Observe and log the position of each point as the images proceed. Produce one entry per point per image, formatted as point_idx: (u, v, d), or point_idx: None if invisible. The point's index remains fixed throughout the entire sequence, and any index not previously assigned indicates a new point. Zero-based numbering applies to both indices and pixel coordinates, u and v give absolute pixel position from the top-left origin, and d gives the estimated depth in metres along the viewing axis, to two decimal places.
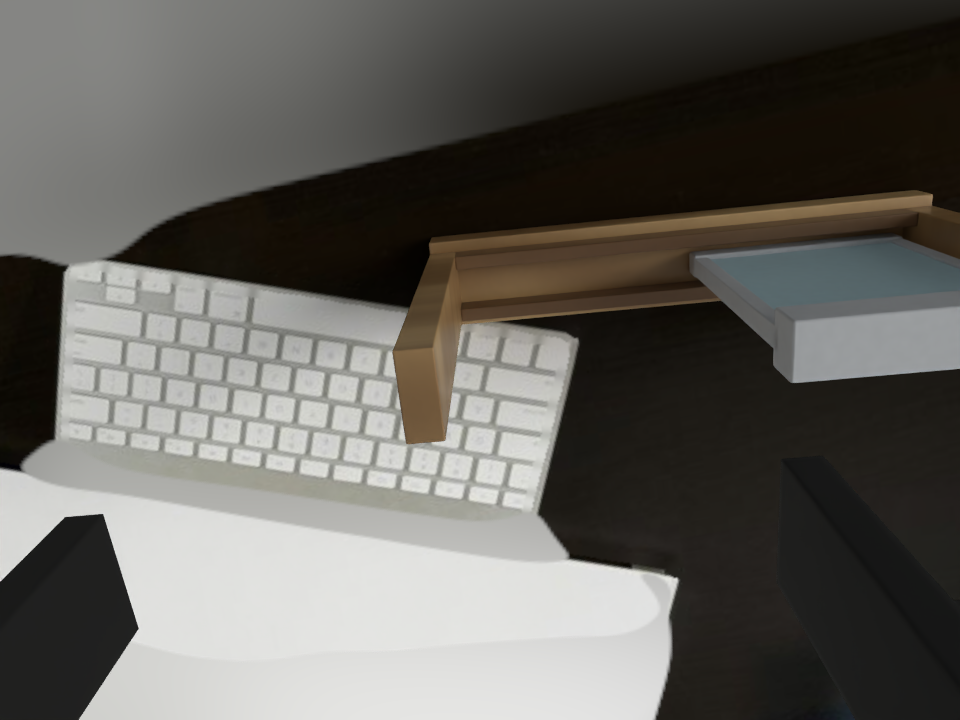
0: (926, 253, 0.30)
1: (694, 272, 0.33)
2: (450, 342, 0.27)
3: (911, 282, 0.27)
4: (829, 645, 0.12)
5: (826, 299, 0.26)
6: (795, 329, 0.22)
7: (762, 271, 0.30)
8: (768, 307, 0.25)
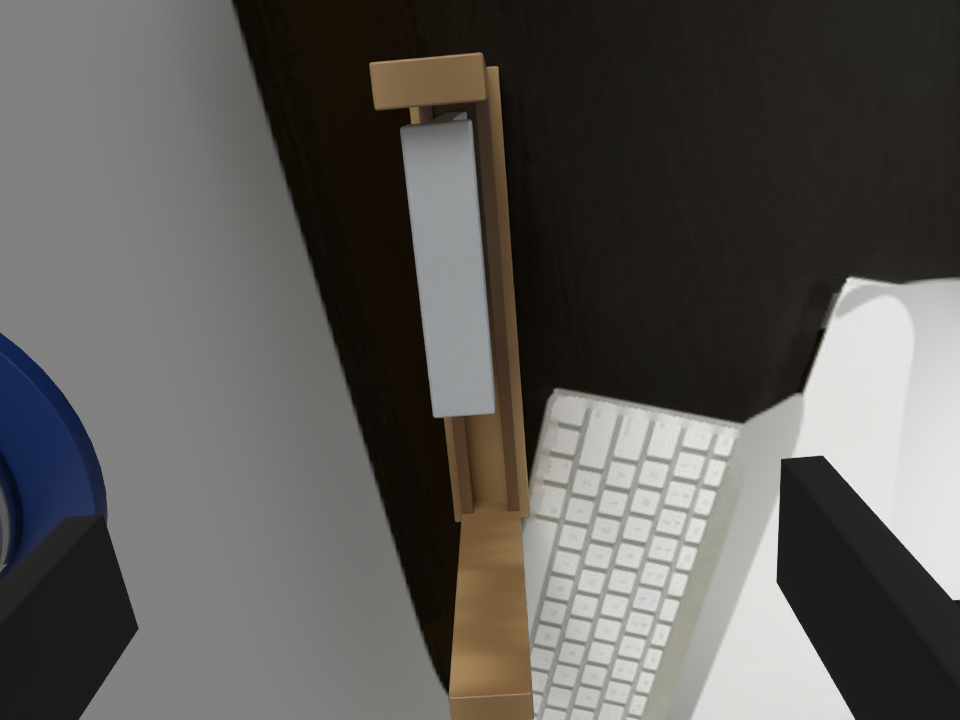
0: None
1: None
2: (494, 598, 0.32)
3: None
4: (829, 645, 0.12)
5: None
6: (440, 416, 0.24)
7: None
8: None
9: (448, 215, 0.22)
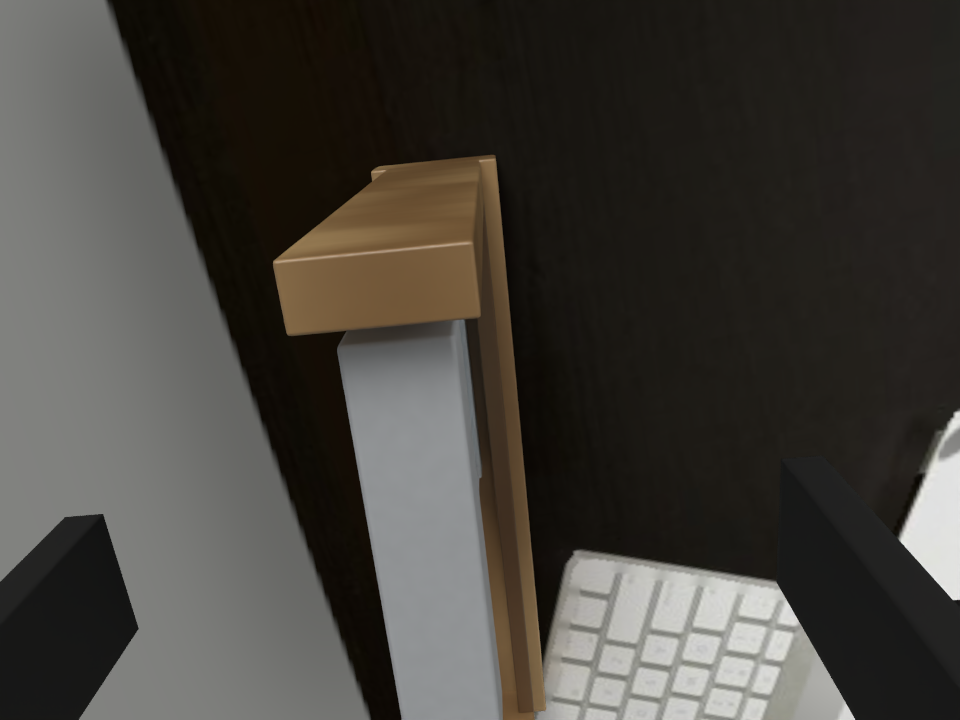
0: None
1: None
2: None
3: None
4: (829, 645, 0.12)
5: None
6: None
7: None
8: None
9: (422, 478, 0.13)
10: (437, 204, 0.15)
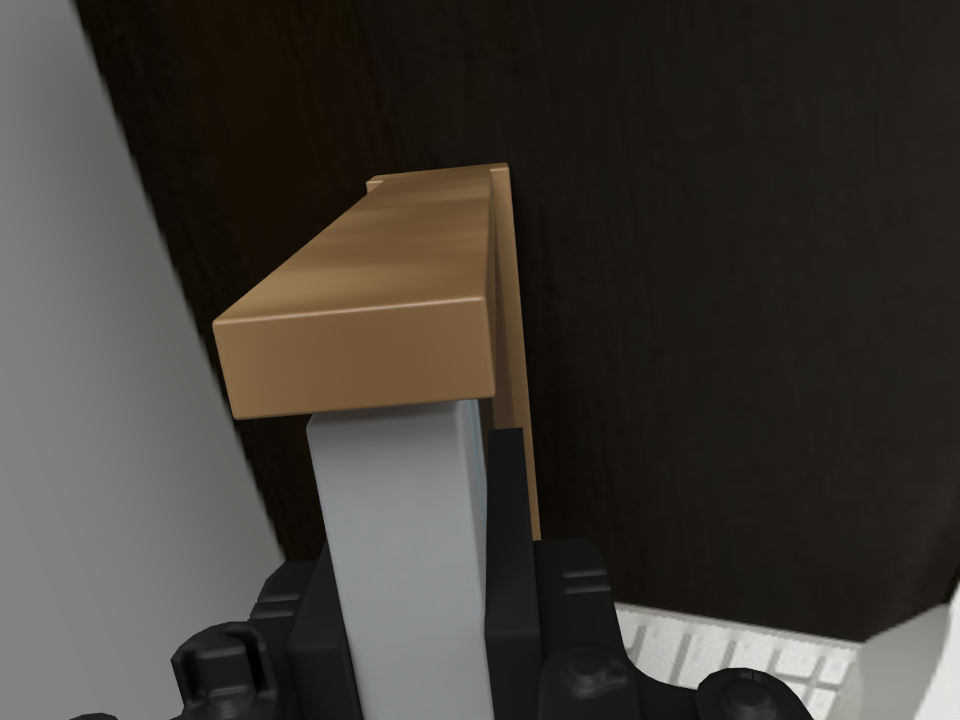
0: None
1: None
2: None
3: None
4: None
5: None
6: None
7: None
8: None
9: (417, 589, 0.10)
10: (439, 231, 0.12)
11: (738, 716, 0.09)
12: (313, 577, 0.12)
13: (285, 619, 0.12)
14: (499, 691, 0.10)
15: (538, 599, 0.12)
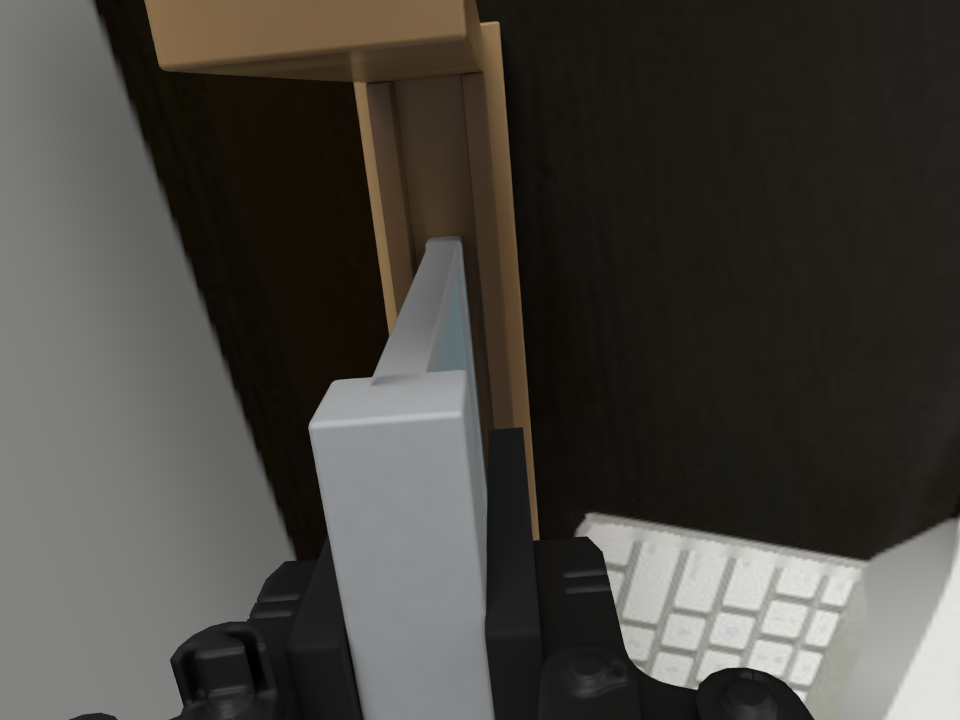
0: None
1: None
2: None
3: None
4: None
5: None
6: None
7: None
8: None
9: (418, 589, 0.10)
10: None
11: (738, 716, 0.09)
12: (313, 577, 0.12)
13: (285, 619, 0.12)
14: (500, 691, 0.10)
15: (539, 599, 0.12)
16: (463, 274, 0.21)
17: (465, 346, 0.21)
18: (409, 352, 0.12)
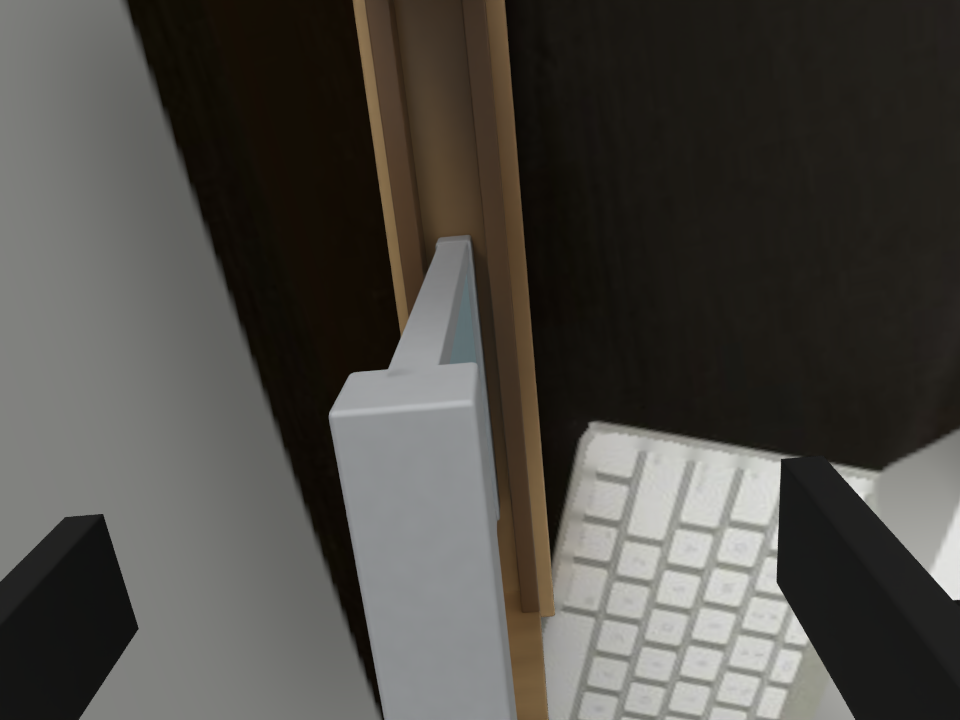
0: None
1: None
2: None
3: None
4: (829, 644, 0.12)
5: None
6: None
7: None
8: None
9: (433, 570, 0.11)
10: None
11: None
12: None
13: None
14: None
15: None
16: (472, 273, 0.21)
17: (475, 343, 0.22)
18: (422, 346, 0.12)
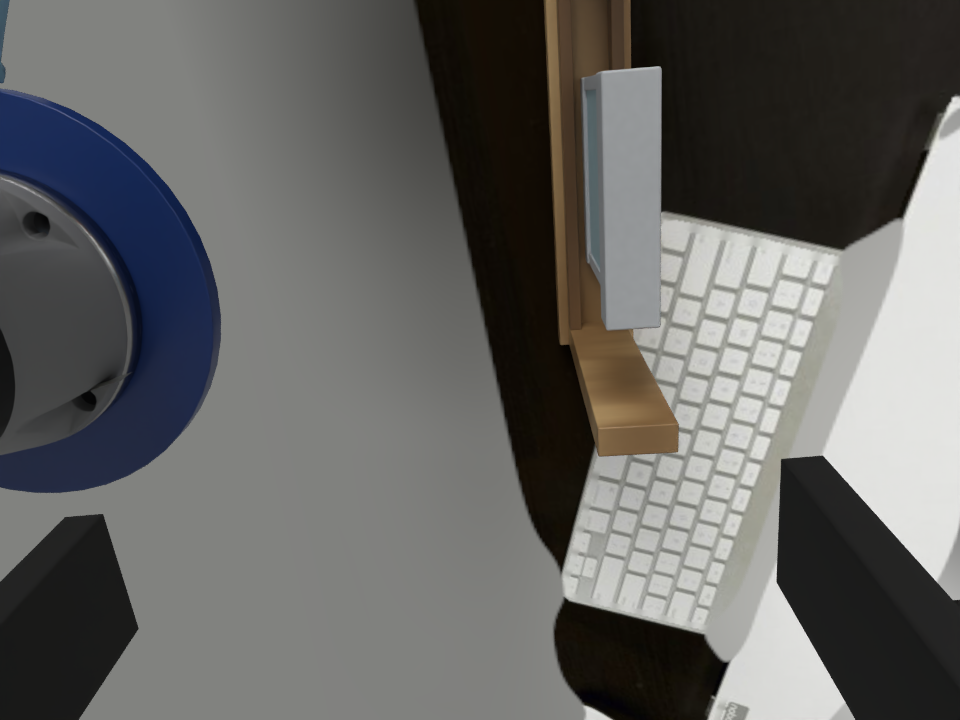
0: (591, 89, 0.33)
1: None
2: (621, 374, 0.33)
3: None
4: (829, 645, 0.12)
5: None
6: (613, 329, 0.28)
7: (596, 235, 0.35)
8: None
9: (635, 149, 0.25)
10: None
11: None
12: None
13: None
14: None
15: None
16: None
17: None
18: None
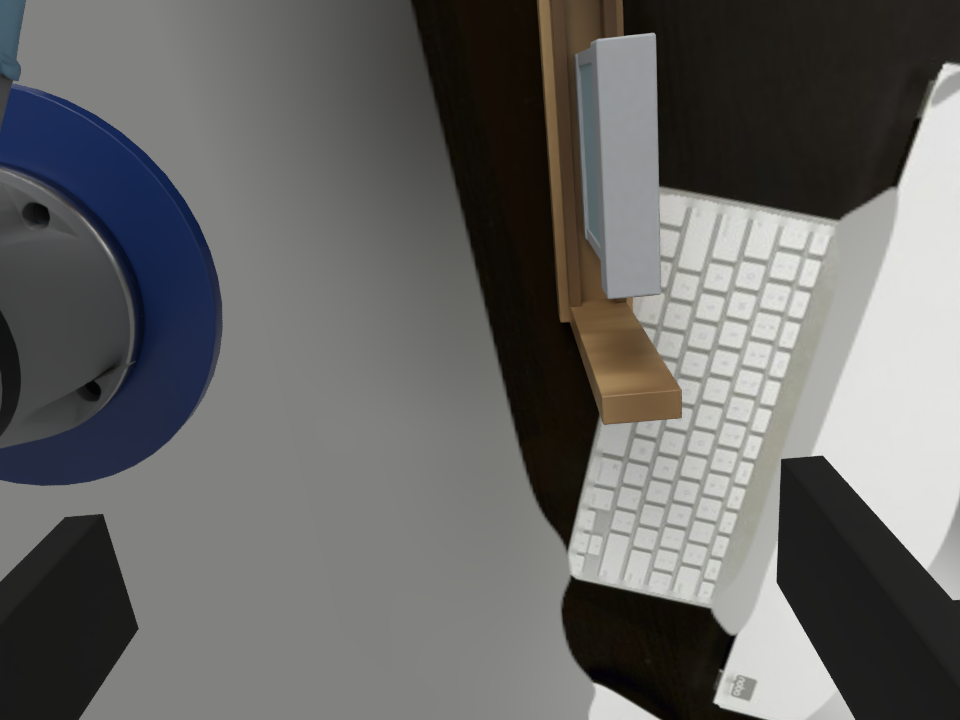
0: (585, 63, 0.33)
1: None
2: (622, 346, 0.33)
3: None
4: (829, 644, 0.12)
5: None
6: (614, 297, 0.28)
7: (594, 210, 0.35)
8: None
9: (632, 117, 0.26)
10: None
11: None
12: None
13: None
14: None
15: None
16: None
17: None
18: None
